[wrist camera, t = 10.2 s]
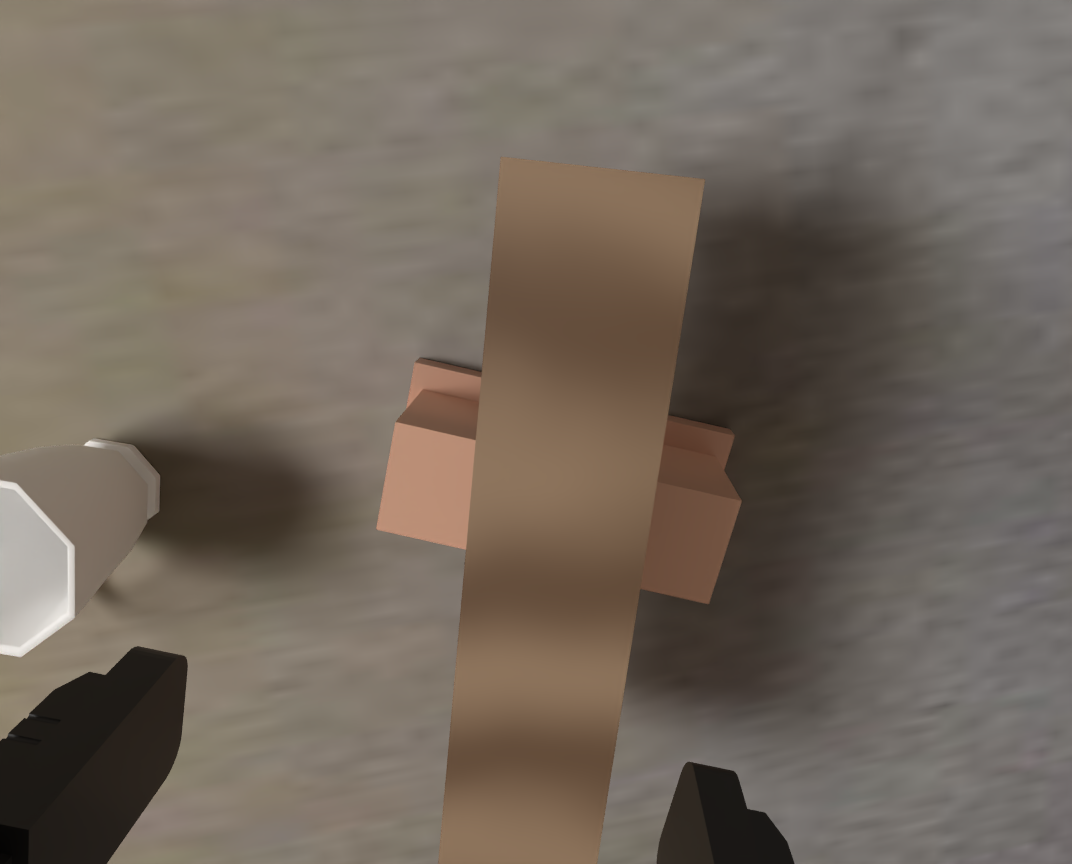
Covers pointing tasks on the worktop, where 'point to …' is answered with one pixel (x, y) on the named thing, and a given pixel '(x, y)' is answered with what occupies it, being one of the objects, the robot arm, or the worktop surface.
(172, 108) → the worktop surface
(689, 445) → the ridge
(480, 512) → the walnut bar
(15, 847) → the robot arm
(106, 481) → the cup
